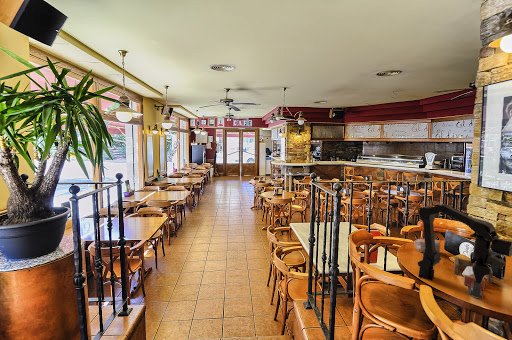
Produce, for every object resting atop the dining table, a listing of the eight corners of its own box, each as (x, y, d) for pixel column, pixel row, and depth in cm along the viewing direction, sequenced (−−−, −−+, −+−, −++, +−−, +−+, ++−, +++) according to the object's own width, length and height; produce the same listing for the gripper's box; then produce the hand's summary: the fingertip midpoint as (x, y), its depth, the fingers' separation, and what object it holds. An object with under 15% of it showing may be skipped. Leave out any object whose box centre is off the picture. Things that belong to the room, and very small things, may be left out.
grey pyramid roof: (458, 280, 144) (468, 272, 137) (461, 268, 149) (471, 259, 142) (476, 290, 140) (487, 282, 133) (478, 277, 145) (489, 269, 138)
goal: (454, 274, 149) (455, 264, 149) (453, 266, 159) (455, 256, 158) (491, 283, 140) (492, 273, 139) (488, 274, 149) (490, 264, 148)
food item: (418, 253, 176) (420, 239, 175) (413, 248, 184) (414, 234, 183) (440, 254, 175) (442, 240, 173) (433, 249, 182) (435, 236, 181)
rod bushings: (468, 294, 130) (468, 291, 130) (467, 288, 135) (468, 286, 134) (482, 298, 127) (482, 295, 127) (480, 292, 132) (481, 289, 131)
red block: (465, 295, 128) (467, 280, 127) (463, 283, 139) (465, 269, 138) (486, 301, 124) (488, 286, 123) (483, 288, 135) (485, 274, 134)
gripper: (508, 260, 112) (503, 294, 114) (501, 246, 127) (497, 276, 129) (474, 253, 118) (470, 285, 120) (472, 240, 133) (468, 269, 135)
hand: (477, 279), depth 126 cm, fingers open, 9 cm apart
